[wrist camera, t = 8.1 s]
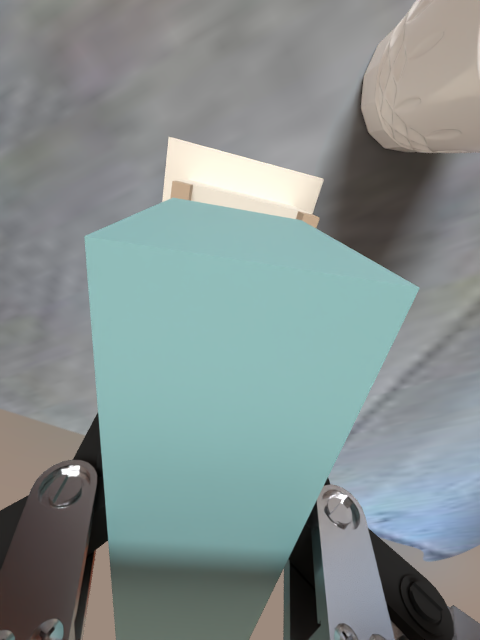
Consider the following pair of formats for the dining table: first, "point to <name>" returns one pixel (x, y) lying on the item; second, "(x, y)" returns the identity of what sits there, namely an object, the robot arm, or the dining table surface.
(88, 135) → the dining table surface
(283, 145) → the dining table surface
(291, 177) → the stand
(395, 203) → the dining table surface
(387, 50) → the white cup
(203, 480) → the teal bar
